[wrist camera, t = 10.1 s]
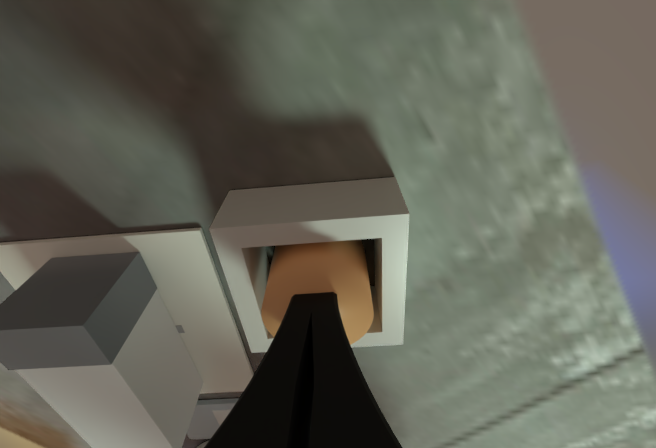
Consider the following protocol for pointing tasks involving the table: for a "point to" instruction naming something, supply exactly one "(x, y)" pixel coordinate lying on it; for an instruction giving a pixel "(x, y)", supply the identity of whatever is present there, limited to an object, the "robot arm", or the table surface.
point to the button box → (312, 227)
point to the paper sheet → (161, 292)
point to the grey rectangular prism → (102, 351)
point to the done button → (320, 282)
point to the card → (209, 417)
